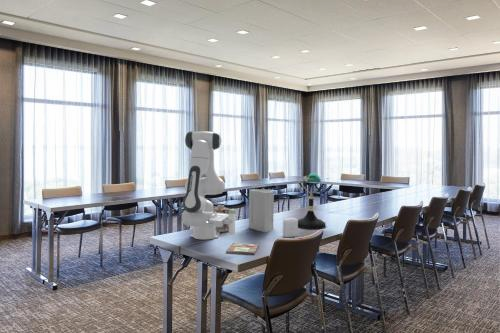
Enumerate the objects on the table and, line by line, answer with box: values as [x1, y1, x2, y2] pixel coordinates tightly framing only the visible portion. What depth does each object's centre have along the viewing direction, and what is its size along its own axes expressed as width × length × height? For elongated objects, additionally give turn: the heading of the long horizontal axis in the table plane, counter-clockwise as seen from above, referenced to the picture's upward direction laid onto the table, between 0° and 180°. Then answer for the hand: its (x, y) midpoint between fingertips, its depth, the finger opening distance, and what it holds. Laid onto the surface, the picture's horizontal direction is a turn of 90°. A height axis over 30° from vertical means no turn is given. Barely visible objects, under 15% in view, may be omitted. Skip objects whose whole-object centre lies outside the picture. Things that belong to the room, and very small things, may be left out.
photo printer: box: [282, 217, 299, 238], centre depth 258 cm, size 10×4×12 cm, turn 113°
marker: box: [228, 208, 236, 236], centre depth 218 cm, size 4×4×14 cm
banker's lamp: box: [297, 172, 327, 230], centre depth 292 cm, size 26×23×40 cm
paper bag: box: [248, 188, 275, 233], centre depth 281 cm, size 19×15×28 cm
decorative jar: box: [213, 204, 230, 233], centre depth 272 cm, size 12×12×18 cm
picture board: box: [225, 242, 260, 256], centre depth 224 cm, size 18×16×1 cm
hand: (233, 220), depth 218 cm, fingers closed on marker, 3 cm apart
